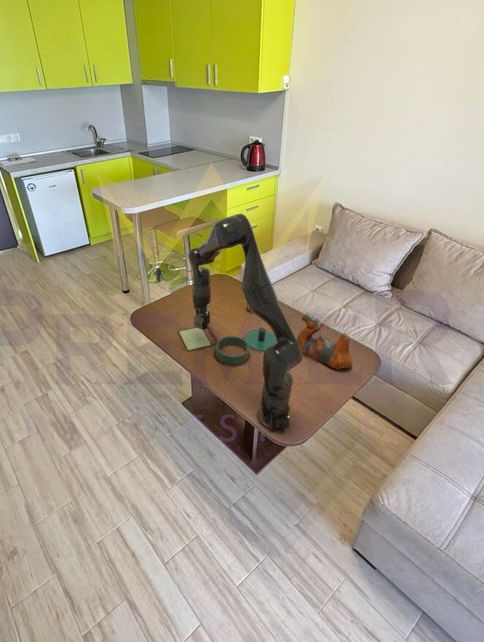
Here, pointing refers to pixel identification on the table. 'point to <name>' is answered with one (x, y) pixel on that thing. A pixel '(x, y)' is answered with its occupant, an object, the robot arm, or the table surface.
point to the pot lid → (260, 339)
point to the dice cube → (198, 321)
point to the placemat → (194, 338)
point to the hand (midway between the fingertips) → (201, 323)
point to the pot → (232, 359)
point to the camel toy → (324, 345)
